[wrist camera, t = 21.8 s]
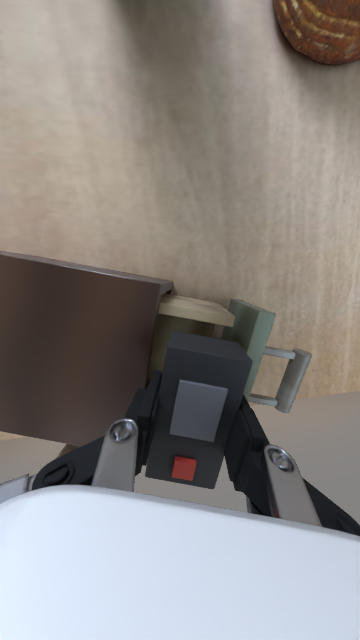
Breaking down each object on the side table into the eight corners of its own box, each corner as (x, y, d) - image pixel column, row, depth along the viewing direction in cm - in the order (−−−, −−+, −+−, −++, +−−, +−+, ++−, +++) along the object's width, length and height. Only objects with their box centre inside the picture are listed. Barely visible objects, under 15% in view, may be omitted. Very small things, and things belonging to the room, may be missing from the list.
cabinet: (173, 281, 19) (161, 283, 10) (156, 386, 22) (135, 456, 13) (36, 256, 19) (-95, 236, 10) (39, 364, 22) (-59, 420, 13)
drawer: (294, 309, 18) (361, 329, 11) (260, 406, 21) (297, 469, 14) (109, 275, 18) (60, 273, 11) (102, 376, 21) (59, 425, 14)
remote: (172, 329, 11) (166, 348, 8) (238, 341, 11) (256, 364, 8) (153, 437, 13) (143, 483, 10) (208, 448, 13) (215, 496, 10)
